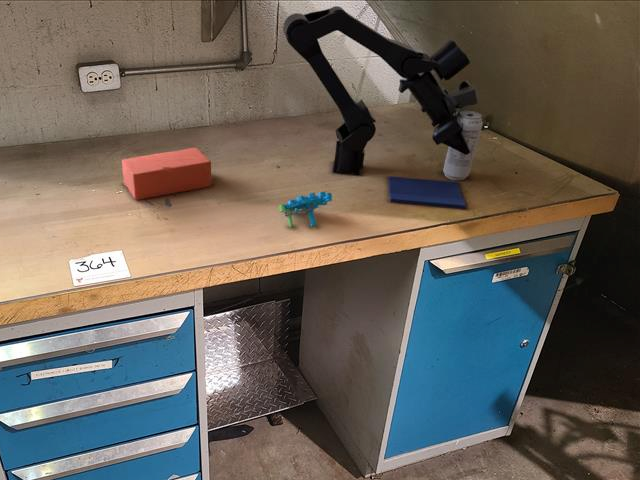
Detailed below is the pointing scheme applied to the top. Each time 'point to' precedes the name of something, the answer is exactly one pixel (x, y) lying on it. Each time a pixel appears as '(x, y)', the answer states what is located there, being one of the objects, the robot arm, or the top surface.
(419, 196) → the book
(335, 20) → the robot arm
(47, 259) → the top surface
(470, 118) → the energy drink can
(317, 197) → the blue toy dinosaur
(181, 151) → the brick
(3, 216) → the top surface
